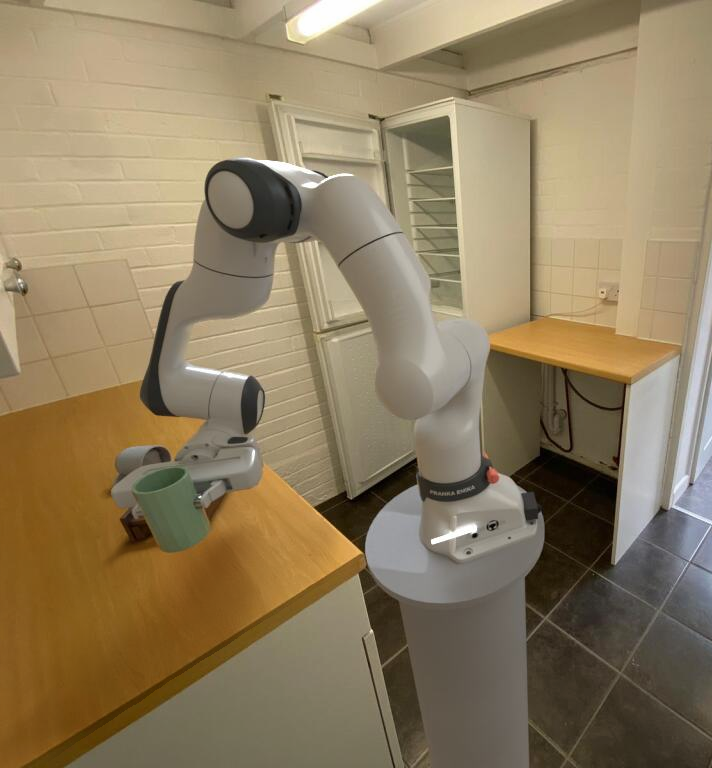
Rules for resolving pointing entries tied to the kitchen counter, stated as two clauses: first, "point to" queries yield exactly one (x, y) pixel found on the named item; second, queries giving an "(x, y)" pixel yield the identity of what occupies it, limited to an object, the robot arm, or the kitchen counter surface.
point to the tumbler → (171, 508)
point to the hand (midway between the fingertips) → (170, 510)
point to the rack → (140, 527)
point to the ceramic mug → (139, 459)
